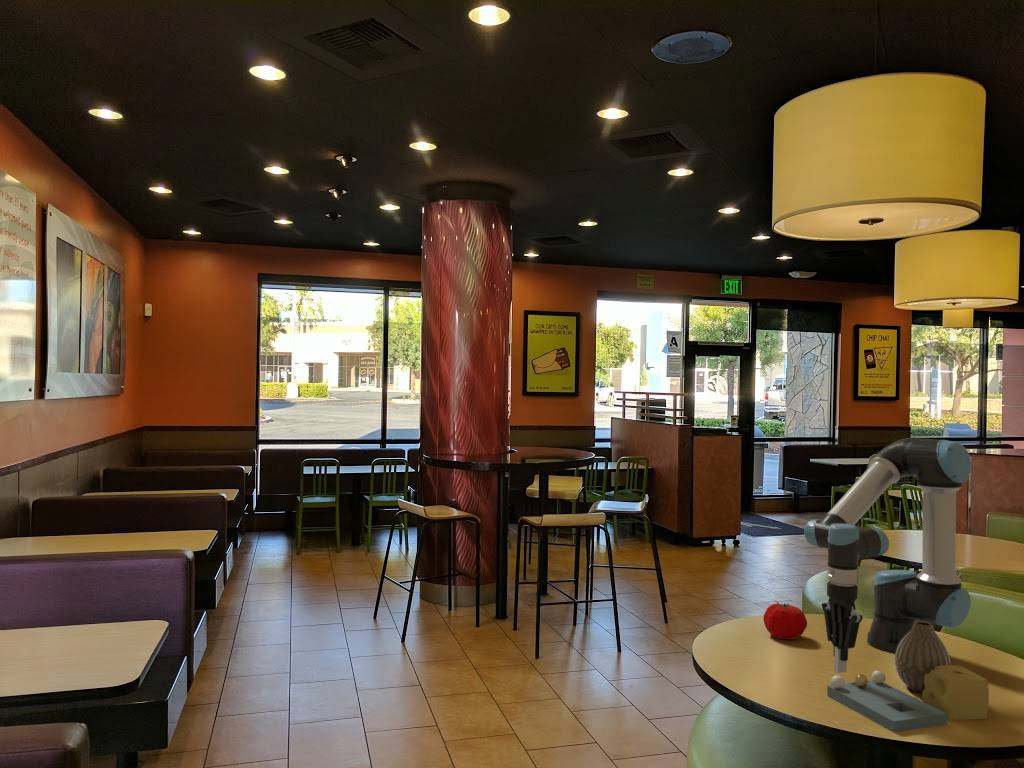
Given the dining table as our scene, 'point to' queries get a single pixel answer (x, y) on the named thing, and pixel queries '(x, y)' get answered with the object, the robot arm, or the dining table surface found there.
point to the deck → (888, 706)
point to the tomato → (784, 621)
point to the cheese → (957, 692)
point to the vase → (919, 655)
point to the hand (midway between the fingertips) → (840, 671)
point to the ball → (861, 680)
